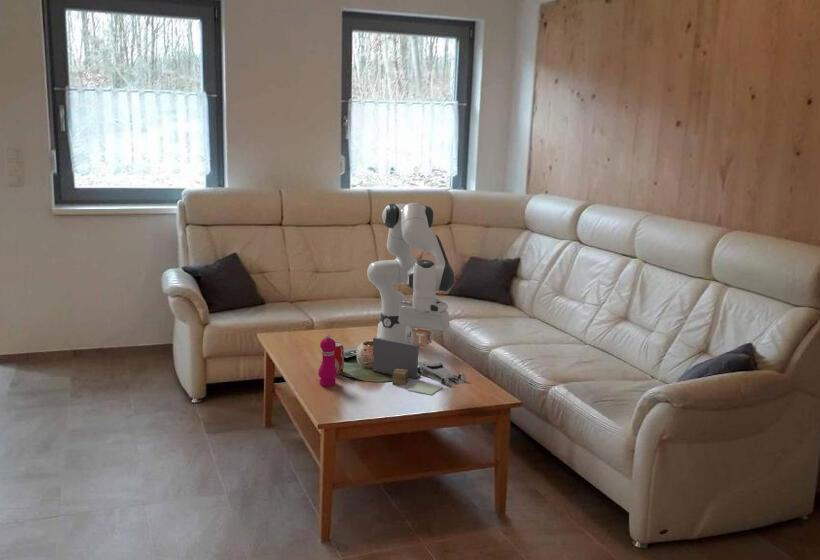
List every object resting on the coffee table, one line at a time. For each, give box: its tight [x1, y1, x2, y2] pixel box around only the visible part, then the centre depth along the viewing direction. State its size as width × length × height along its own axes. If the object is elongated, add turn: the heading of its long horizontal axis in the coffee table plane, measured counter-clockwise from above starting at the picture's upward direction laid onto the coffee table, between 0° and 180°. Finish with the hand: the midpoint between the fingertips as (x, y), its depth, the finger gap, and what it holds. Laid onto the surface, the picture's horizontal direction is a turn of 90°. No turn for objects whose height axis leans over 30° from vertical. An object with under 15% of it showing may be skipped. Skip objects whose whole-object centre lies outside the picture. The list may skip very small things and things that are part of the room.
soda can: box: [333, 341, 345, 375], centre depth 313 cm, size 7×7×12 cm
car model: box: [418, 360, 467, 387], centre depth 313 cm, size 11×24×5 cm, turn 37°
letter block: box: [413, 327, 433, 346], centre depth 294 cm, size 5×5×5 cm
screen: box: [371, 336, 422, 381], centre depth 313 cm, size 4×20×14 cm, turn 63°
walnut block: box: [391, 369, 409, 387], centre depth 303 cm, size 5×5×5 cm
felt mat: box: [407, 381, 443, 396], centre depth 298 cm, size 10×10×1 cm
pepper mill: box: [317, 334, 338, 387], centre depth 298 cm, size 7×7×20 cm
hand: (423, 338), depth 294 cm, fingers closed on letter block, 5 cm apart
